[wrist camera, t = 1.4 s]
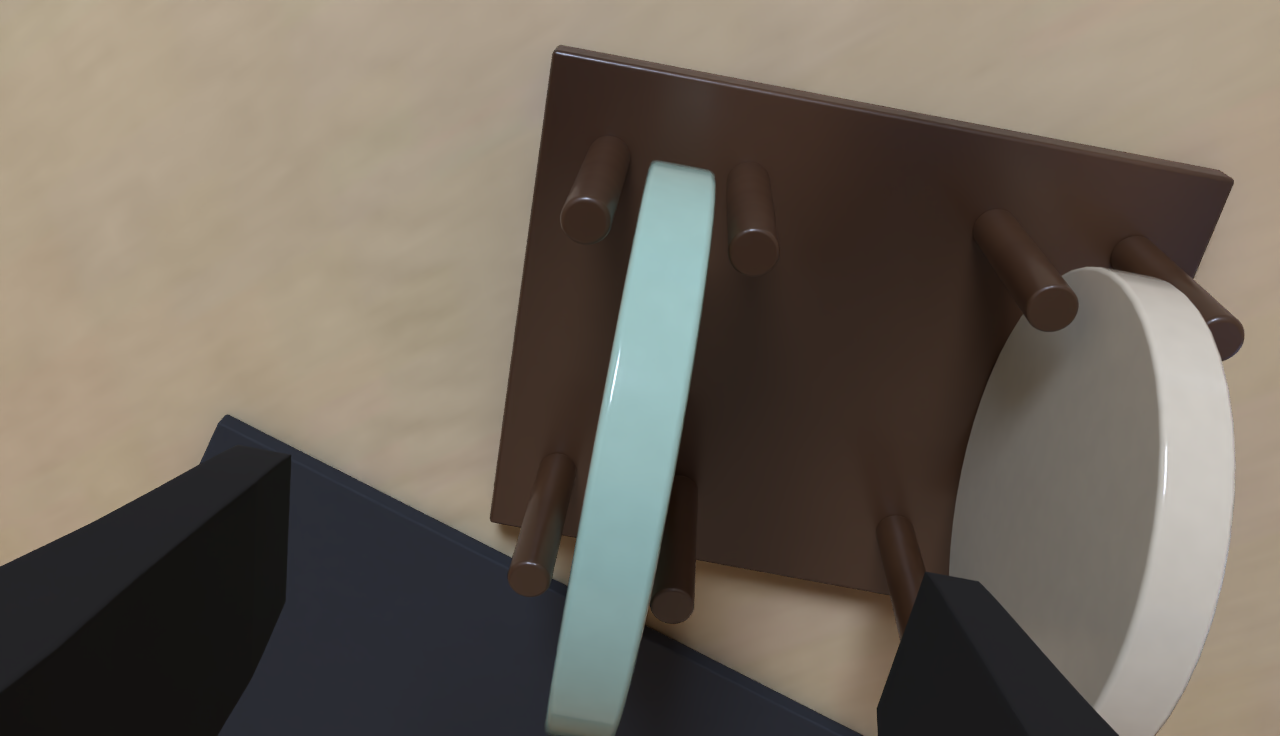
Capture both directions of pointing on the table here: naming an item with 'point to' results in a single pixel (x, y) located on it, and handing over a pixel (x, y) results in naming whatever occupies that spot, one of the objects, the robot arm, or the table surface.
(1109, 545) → the cream saucer
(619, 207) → the plate rack
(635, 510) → the pale green plate
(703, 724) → the charcoal mat
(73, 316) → the table surface
